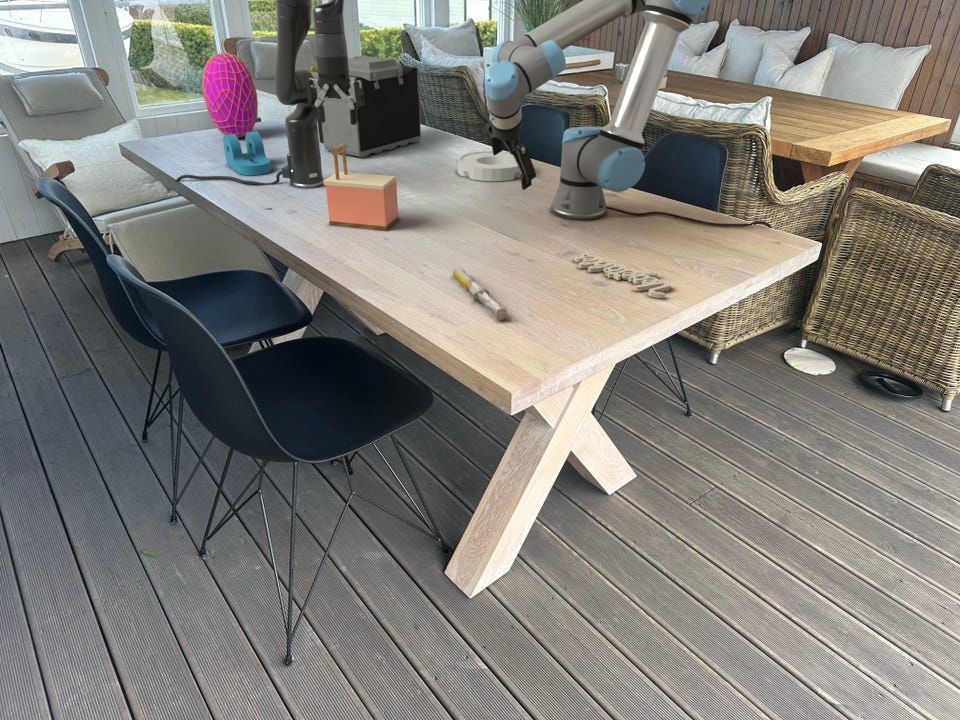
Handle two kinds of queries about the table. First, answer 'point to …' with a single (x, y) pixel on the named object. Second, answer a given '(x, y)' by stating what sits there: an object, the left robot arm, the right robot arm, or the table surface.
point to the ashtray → (488, 166)
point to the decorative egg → (230, 94)
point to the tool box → (374, 109)
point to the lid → (355, 175)
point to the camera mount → (246, 154)
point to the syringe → (479, 293)
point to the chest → (362, 207)
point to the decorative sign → (625, 274)
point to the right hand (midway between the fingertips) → (512, 169)
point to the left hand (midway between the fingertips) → (338, 123)
